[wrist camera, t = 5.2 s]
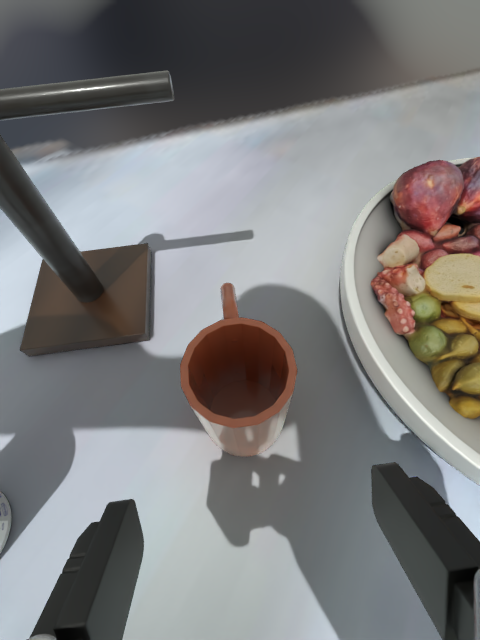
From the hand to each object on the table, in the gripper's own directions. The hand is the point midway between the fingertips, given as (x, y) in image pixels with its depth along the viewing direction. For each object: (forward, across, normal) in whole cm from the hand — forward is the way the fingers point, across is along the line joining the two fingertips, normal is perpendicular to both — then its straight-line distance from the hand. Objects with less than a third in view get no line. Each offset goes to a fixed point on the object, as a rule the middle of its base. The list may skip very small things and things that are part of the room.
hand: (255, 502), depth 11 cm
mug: (+13, 0, +3) cm, 13 cm away
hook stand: (+21, +9, -5) cm, 23 cm away
